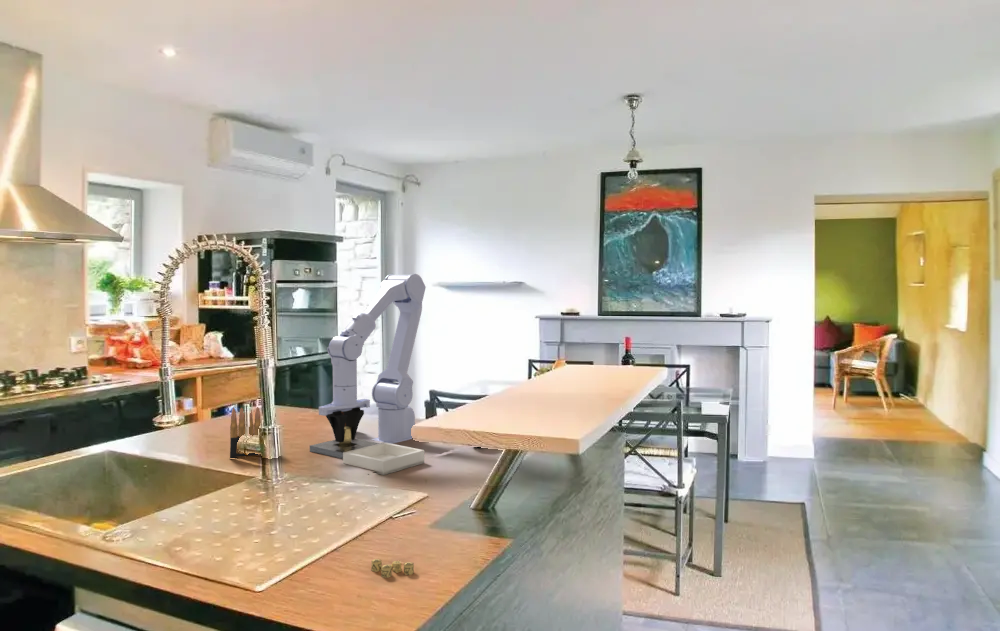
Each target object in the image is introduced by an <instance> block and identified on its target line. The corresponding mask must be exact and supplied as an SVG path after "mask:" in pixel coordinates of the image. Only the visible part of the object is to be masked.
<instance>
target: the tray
mask: <svg viewBox="0 0 1000 631" xmlns="http://www.w3.org/2000/svg"><path fill="white" fill-rule="evenodd" d="M379 443H380V444H376V445H372V446H368V447H364V448H360V449H356V450H352V451H348V452H343V459H342V463H343V464H346V465H350V466H354V467H358V468H361V469H362V468H363V469H367V470H371V471H373V472H372V473H373V474H376V475H377V474H378V475H381V476H386V475H389V474H392V473H395V472H399V471H402V470H406V469H409V468H412V467H413V468H414V467H415V466H419V465H423V464H425V450H424V449H420V448H416V447H415V448H414V447H410V446H406V445H399V444H397V443H394V444H391V443H386V442H379Z"/></svg>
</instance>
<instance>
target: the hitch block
mask: <svg viewBox="0 0 1000 631" xmlns="http://www.w3.org/2000/svg"><path fill="white" fill-rule="evenodd" d="M380 443H381V442H376V441H375V442H374V441H370V440H364V439H359V438H355V439H354V440H352V446H349V447H340V446H339V442H336V440H335V439H333V440H328V441H324V442H320V443H319V442H318V443H314V444H309V452H311V453H315V454H319V455H324V456H328V457H332V458H337V459H340V460H343V452H348V451H352V450H356V449H360V448H364V447H368V446H372V445H376V444H380Z"/></svg>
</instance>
